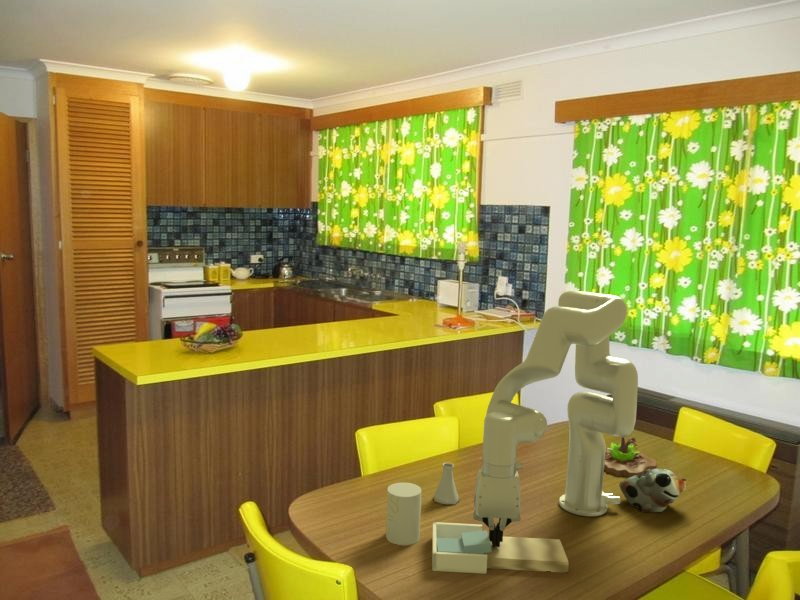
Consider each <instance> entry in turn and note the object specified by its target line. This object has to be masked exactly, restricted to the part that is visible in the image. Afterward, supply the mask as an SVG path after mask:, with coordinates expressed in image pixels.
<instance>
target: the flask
mask: <svg viewBox="0 0 800 600" xmlns="http://www.w3.org/2000/svg"><path fill="white" fill-rule="evenodd" d="M441 465H442V474H441V478H440V481H439V483H438V486H437V488H436V490H435V492H434V495H433V499H434V502H435V503H438V504H441V505H456V504H457V503H458V502H459V501H460V497H459V493H458V491H457V487H456V484H455V480H454V472H453V469H454V467H455V466H454V465H455V464H454V463H452V462H443V463H442V464H441Z"/></svg>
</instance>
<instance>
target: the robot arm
mask: <svg viewBox="0 0 800 600" xmlns="http://www.w3.org/2000/svg"><path fill="white" fill-rule="evenodd" d="M557 303H558V305H557V306H553V307H549V308H548V309H547V310H546V311H545V312H544V313H543V315H542V318H541V320H540V323H539V326H538V328H537V330H536V333H535V334H534V335H535V336H534V338H533V341H532V343H531V346H530V348H529V350H528V353H527V356H526V358H525V359H524V360H523V361H522V362H521V363H520V364H518V365H517V366H515V367H513V368H512V369H511V370H509V372H507V373H506V375H505V376H503V377H502V378H501V379H500V381H499V382H498V383H497V385H496V387H495V388H494V390H493V393H492V396H491V398H490V401H489V404H488V405H487V409H486V414H485V417H484V419H483V434H482V435H483V438H482V458H481V459H482V460H481V462H482V463H481V468H480V469H479V470H478V472H477V475H476V481H475V488H474V498H473V499H474V500H473V505H474V506H473V507H474V510H473V515H472V517H473V520H475V521H479V522H482V523H484V525H486V527H487V528H489V530H488V536H489V539H490V541H491V542H492V546H493V547H495V546H496V547H500V542H503V536H504V531H505V530H506V528H507V527H508V526H509V525H510V524H511V523H517V522H520V521H521V520H522V519H521V518H522V517H521V483H520V476H519V472H518V471H519V470H523V467H524V465H523V463H522V462H521V463H520V462H518V461H517V452H518V451H517V450H518V445H519V444H522V445H523V444H529V443H534V442H537V441H539V440H541V438H543V437H544V435H545V433H546V432H547V429H548V420H547V418H546V416H545V415H544V414H543V413H542V412H541V411H539V410H537V409H533V408H530V407H526V406H524V405H520V404H516V403H513V402H512V401H513V400H514V397H515V396H516V395H517V394H518V393H519V391H521V389H523V388H524V387H526V386H528V385H531V384H534V383H537V382H540V381H545V380H548V379H553V378H556V377H558V376H559V375H560V373H561V372H562V369H563V366H564V363H565V361H566V358H567V355H568V353H569V350H570V347H571V345H575V358H574V359H575V360H574V378H575V381H576V382H575V383H577V384H578V386H580V387H582V388H584V389H588V390H591V391H596V392H600V393H604V394H608V395H611V396H606V395H604V394H600V393H594V392H589V391H579V392H576V393H573V394H572V395H571V397H570V398H569V400H568V402H567V420H568V427H569V428H568V429H569V433H568V434H569V438H568V439H569V440H568V450H567V451H568V453H567V454H568V455H567V465H566V466H567V468H566V481H565V482H566V483H565V493H564V494H562V495H561V496H560V497H559V498H558V499H559V500H558V504H559V506H560V507H561V508H562V509H563V510H564V511H566V512H568V513H571V514H573V515H577V516H581V517H599V516H602V515H605V514H606V513H607V511H608V504H613V505H614V504H617V505H618V504H619V505H620V504H621V497H620V496H619V495H618V496H616V495H614V494H613V493H610V492H604V490H603V488H604V475H605V473H604V472H605V471H604V464H605V452H606V448H607V447H606V446H607V445H606V441H605V438H604V435H603V434H605V435H609V436H612V437H617V438H622V437H624V438H627V437H629V436H630V435H631V434H632V432H633V431H634V429H635V425H636V421H637V420H636V419H637V407H638V388H639V386H638V385H639V375H638V374H639V373H638V370H637V368H636V365H635V364H634V363H633V362H632V361H630V360H628V359H625V358H622V357H621V358H620V357H616V356H615V357H614V356H611V354H610V353H611V352H610V336H611V335H613V334H614V333H615V332H617V331H618V330H619V329H620V328H621V327H622V326H623V325H624V323H625V321H626V320H627V319H626V318H627V315H628V307H627V304H626V302H625V300H624V299H623V298H621V297H620V296H617V295H613V294H606V293H599V292H597V293H596V292H591V291H581V290H567V291H564V292H563V293H561V294H560V295H559V297H558V302H557ZM494 519H498V521H497V523H496V524H495V520H494Z"/></svg>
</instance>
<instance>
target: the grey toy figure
mask: <svg viewBox="0 0 800 600" xmlns="http://www.w3.org/2000/svg"><path fill="white" fill-rule="evenodd" d="M687 484H688V483H687V478H684V477H682V478H679V477H678V476H677V475H676V474H675V473H674V472H673V471H672V470H669V469H666V468H658V467H657V468H656V469H652V470H649V469H647V470H645V474H644V475H635V476H632V477H631V478H628V477H626V479H624V480H623V481H620V483H619V485H618V486H619V489H620V491H621V492H622V494H623V496H624V497H625V500H627V502H628V503H630V505H631V506H633V507H637V508H638V510H639V511H640V512H642V511H643V512H642V513H651V512H661V513H662V512H663V511H664V510H666V509H667V507H668V506H670V504H673V503H674V502H675V501H676V500H677V499H678V498H679V496H680V495H681V493H683V492H684V491H685V490H686V486H687Z"/></svg>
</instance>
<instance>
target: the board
mask: <svg viewBox="0 0 800 600" xmlns="http://www.w3.org/2000/svg"><path fill="white" fill-rule="evenodd" d="M490 543H491V552H490V553H484V554H485V555H487V569H497V570H510V571H511V570H514V571H531V572H532V571H533V572H546V571H551V572H550V573H564V572H568V573H569V563H570V562H569V559H568V556H567V554H566V552H565V549H564V547H563V544H562V542H561V539H558V538H557V539H556V538H540V537H537V538H536V537H521V536H519V537H518V536H504V535H503V542H500V547H496V546H495V547H493V546H492V542H491V541H490Z"/></svg>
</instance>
